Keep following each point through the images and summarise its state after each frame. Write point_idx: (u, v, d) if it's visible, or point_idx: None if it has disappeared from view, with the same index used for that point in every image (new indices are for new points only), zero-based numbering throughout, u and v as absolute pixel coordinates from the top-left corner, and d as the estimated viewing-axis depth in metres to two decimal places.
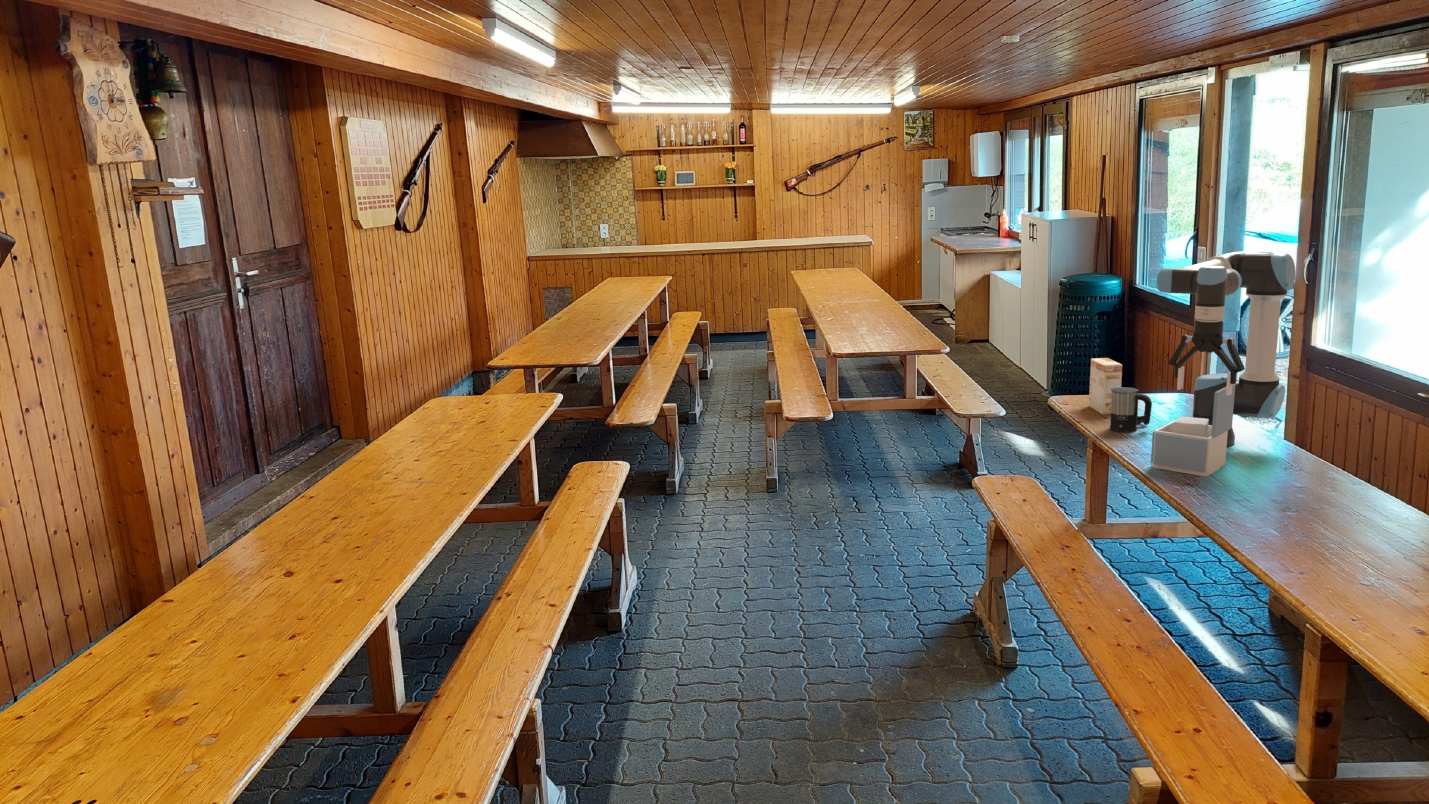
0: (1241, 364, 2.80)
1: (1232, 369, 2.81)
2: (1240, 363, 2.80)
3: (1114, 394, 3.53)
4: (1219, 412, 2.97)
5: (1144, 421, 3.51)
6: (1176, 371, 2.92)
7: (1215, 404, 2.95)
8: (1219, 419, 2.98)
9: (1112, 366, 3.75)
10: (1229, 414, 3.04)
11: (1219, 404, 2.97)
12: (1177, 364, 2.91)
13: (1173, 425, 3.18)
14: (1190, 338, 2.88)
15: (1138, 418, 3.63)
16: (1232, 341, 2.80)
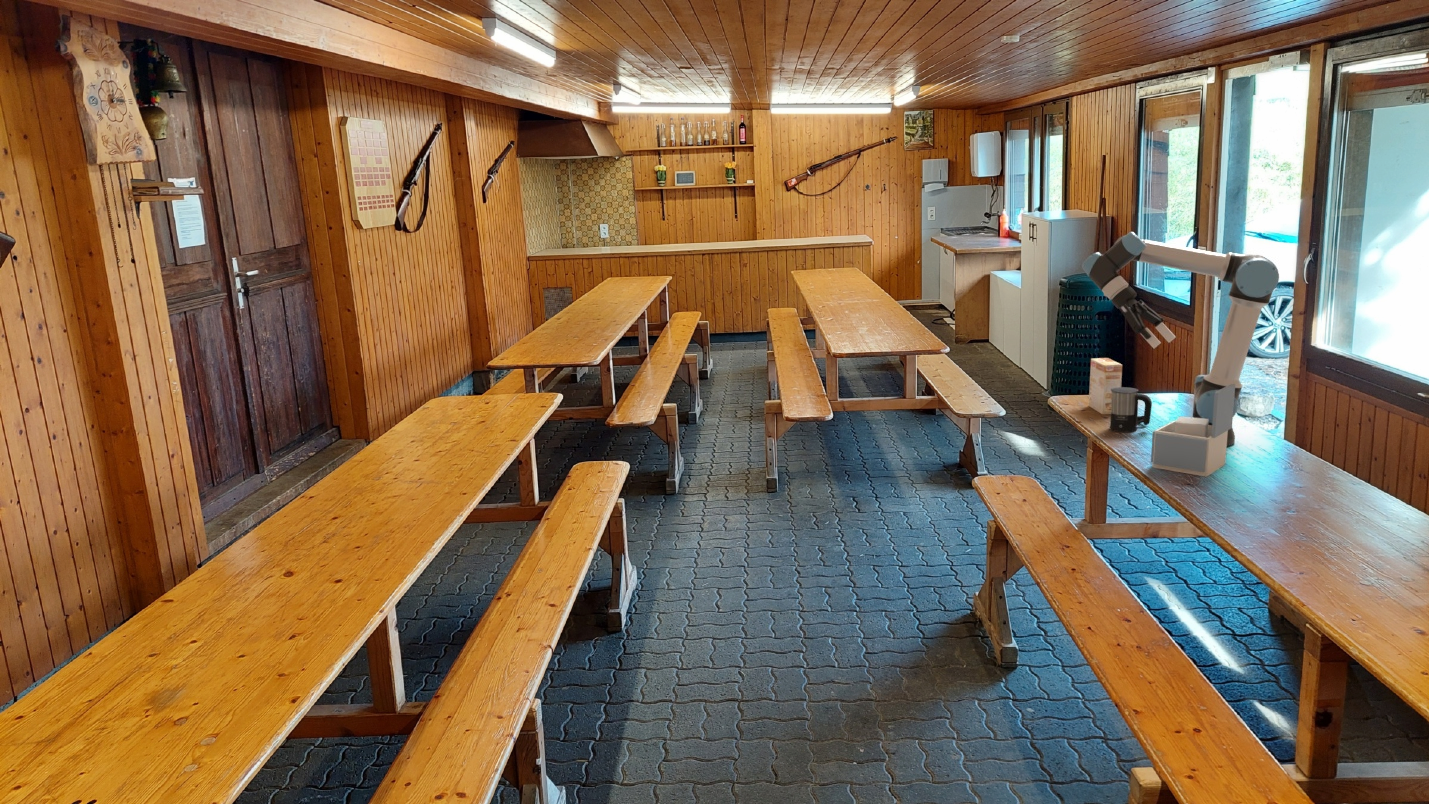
0: (1134, 325, 3.13)
1: None
2: (1133, 325, 3.14)
3: (1114, 394, 3.53)
4: (1219, 412, 2.97)
5: (1144, 421, 3.51)
6: None
7: (1215, 404, 2.95)
8: (1219, 419, 2.98)
9: (1112, 366, 3.75)
10: (1229, 414, 3.04)
11: (1219, 404, 2.97)
12: None
13: (1173, 425, 3.18)
14: None
15: (1138, 418, 3.63)
16: (1122, 309, 3.17)
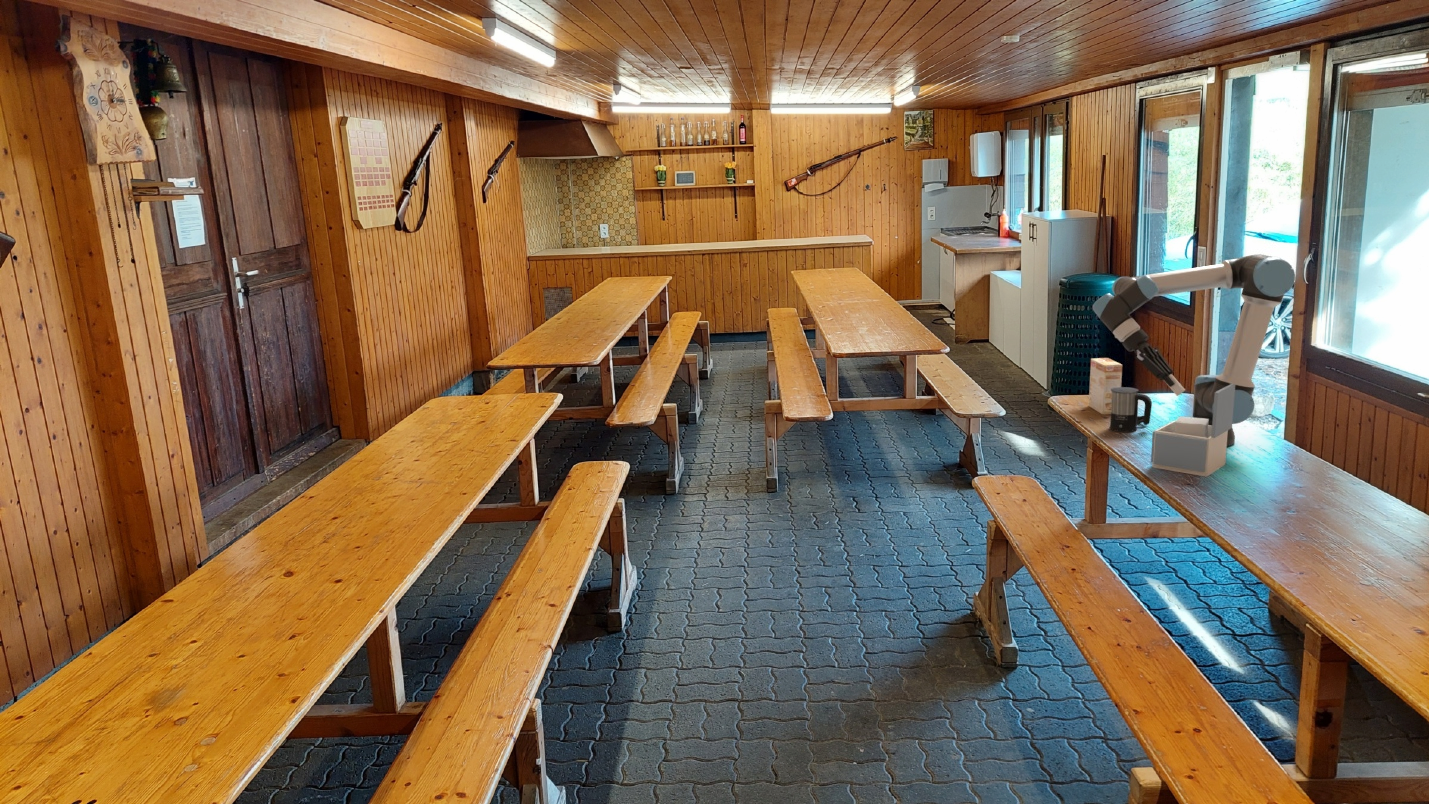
0: (1157, 373, 3.08)
1: None
2: (1155, 373, 3.09)
3: (1114, 394, 3.53)
4: (1219, 412, 2.97)
5: (1144, 421, 3.52)
6: None
7: (1215, 404, 2.95)
8: (1219, 419, 2.98)
9: (1112, 366, 3.75)
10: (1229, 414, 3.04)
11: (1219, 404, 2.97)
12: None
13: (1173, 425, 3.18)
14: None
15: (1138, 418, 3.63)
16: (1139, 358, 3.09)
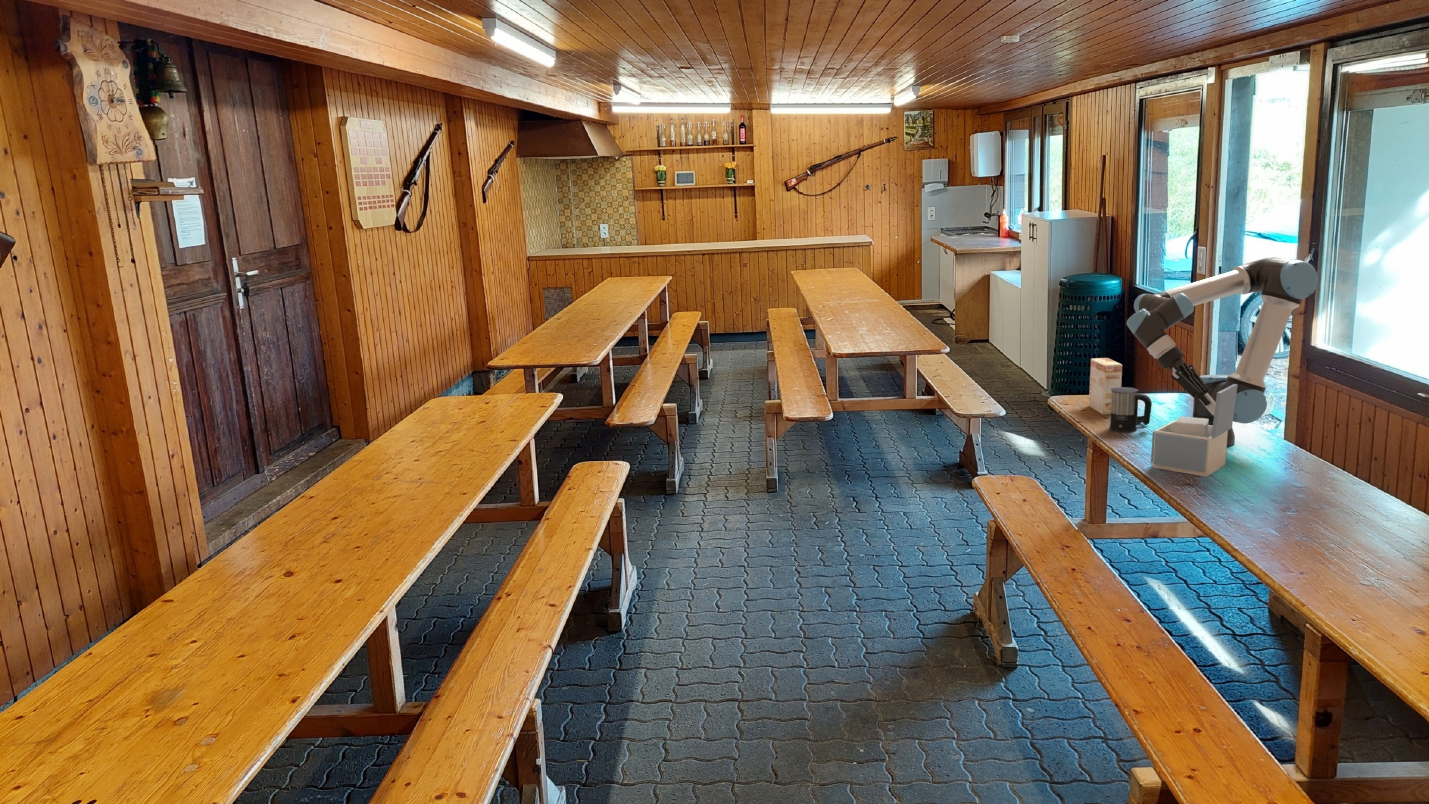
0: (1193, 391, 3.02)
1: None
2: (1191, 391, 3.02)
3: (1114, 394, 3.53)
4: (1221, 413, 2.97)
5: (1144, 421, 3.52)
6: None
7: (1217, 404, 2.95)
8: (1220, 420, 2.98)
9: (1112, 366, 3.75)
10: (1229, 415, 3.04)
11: (1221, 405, 2.96)
12: None
13: (1173, 425, 3.18)
14: None
15: (1138, 418, 3.63)
16: (1175, 376, 3.03)
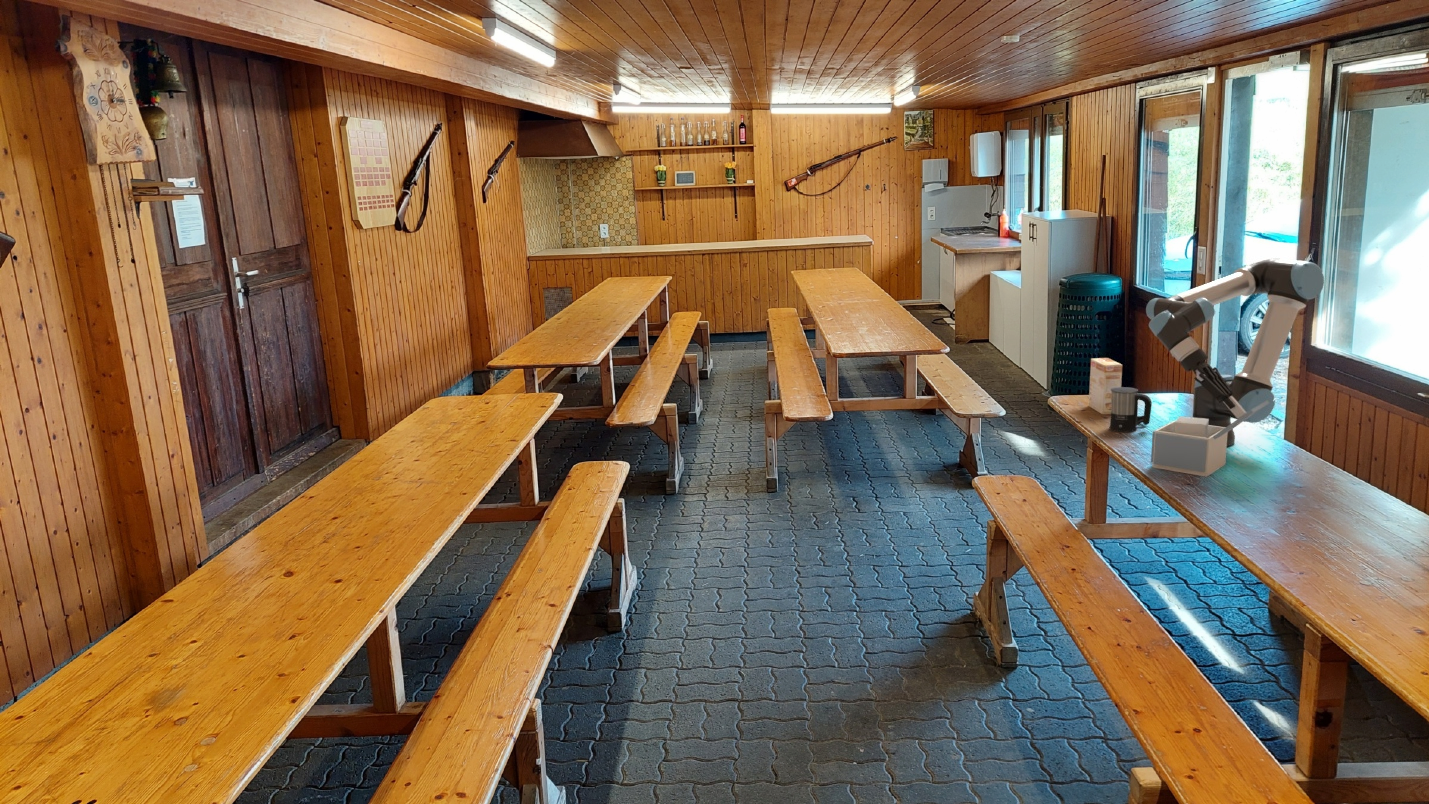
0: (1217, 394, 2.97)
1: None
2: (1215, 394, 2.97)
3: (1114, 394, 3.53)
4: (1237, 423, 2.94)
5: (1144, 421, 3.52)
6: None
7: (1241, 418, 2.91)
8: (1231, 428, 2.96)
9: (1112, 366, 3.75)
10: (1241, 422, 3.02)
11: None
12: None
13: (1173, 425, 3.18)
14: None
15: (1138, 418, 3.63)
16: (1199, 379, 2.98)
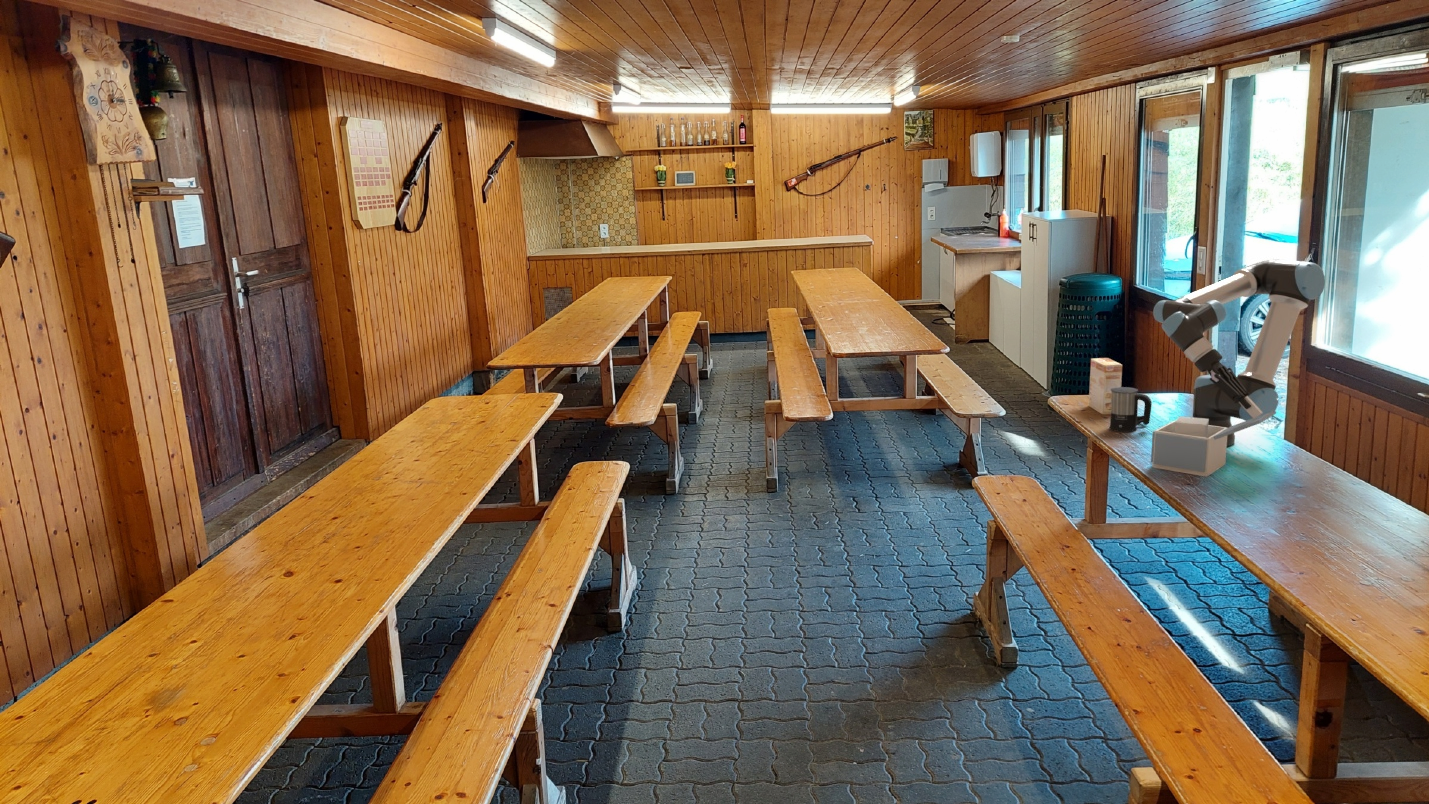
0: (1233, 395, 2.94)
1: None
2: (1231, 395, 2.95)
3: (1114, 394, 3.53)
4: None
5: (1144, 421, 3.52)
6: None
7: (1247, 425, 2.90)
8: None
9: (1112, 366, 3.75)
10: None
11: None
12: None
13: (1173, 425, 3.18)
14: None
15: (1138, 418, 3.63)
16: (1214, 379, 2.95)
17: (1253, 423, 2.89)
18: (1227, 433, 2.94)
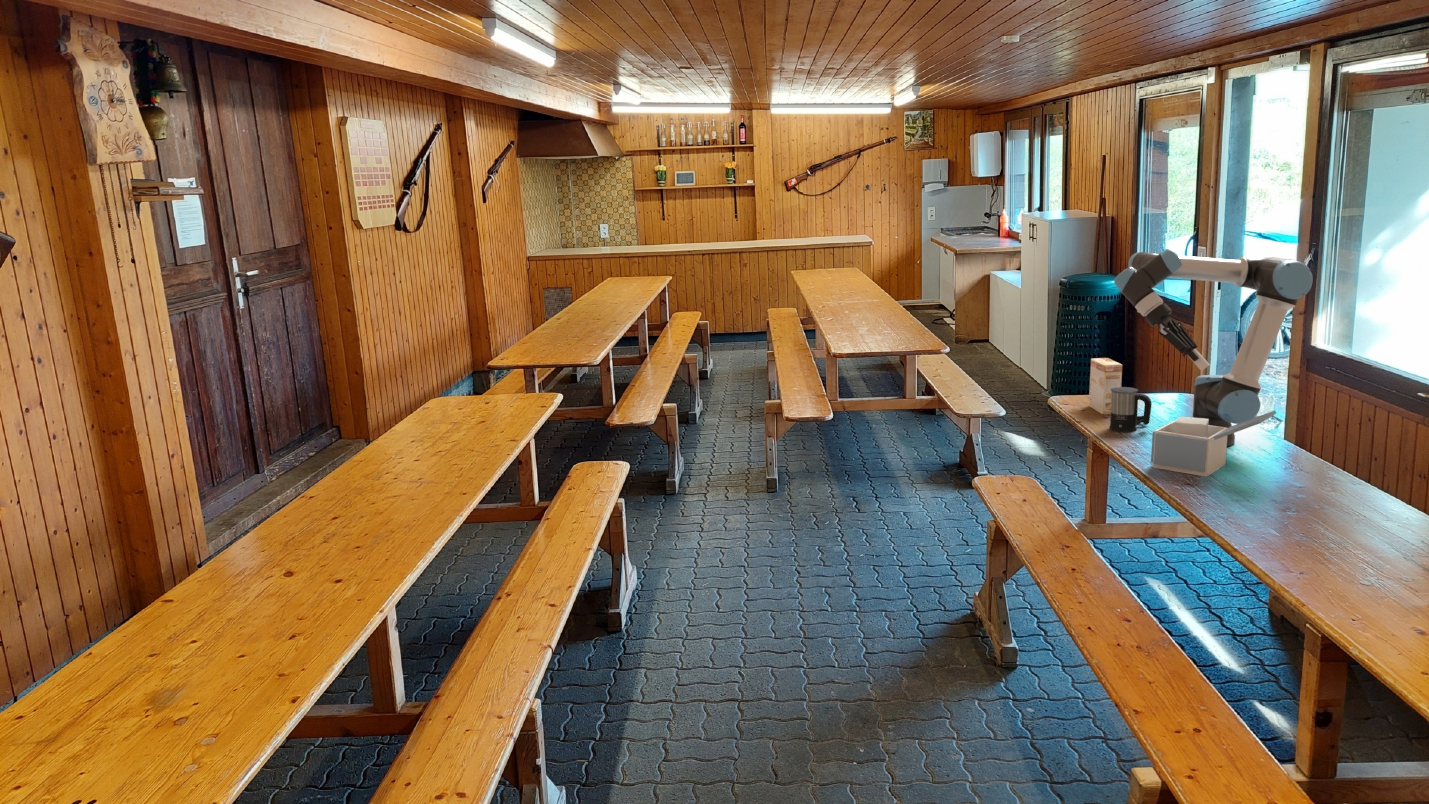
0: (1181, 347, 3.03)
1: None
2: (1179, 347, 3.03)
3: (1114, 394, 3.54)
4: None
5: (1144, 421, 3.52)
6: None
7: (1247, 426, 2.90)
8: None
9: (1112, 366, 3.75)
10: None
11: None
12: None
13: (1173, 425, 3.18)
14: None
15: (1138, 418, 3.63)
16: (1163, 332, 3.04)
17: (1253, 423, 2.89)
18: (1227, 433, 2.94)
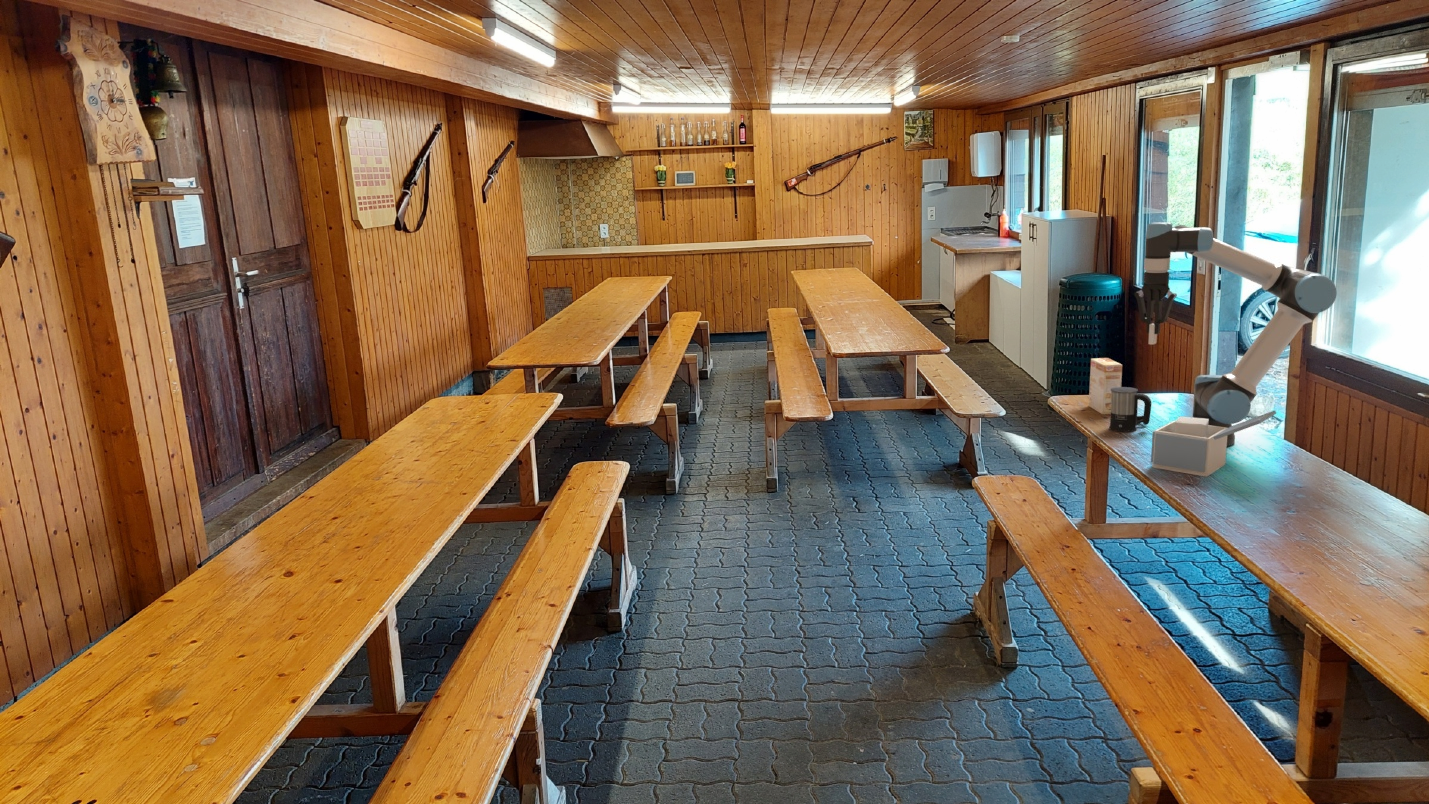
0: None
1: None
2: None
3: (1114, 394, 3.54)
4: None
5: (1144, 421, 3.52)
6: None
7: (1247, 426, 2.90)
8: None
9: (1112, 366, 3.75)
10: None
11: None
12: None
13: (1173, 425, 3.18)
14: None
15: (1138, 418, 3.63)
16: None
17: (1253, 423, 2.89)
18: (1227, 433, 2.94)
